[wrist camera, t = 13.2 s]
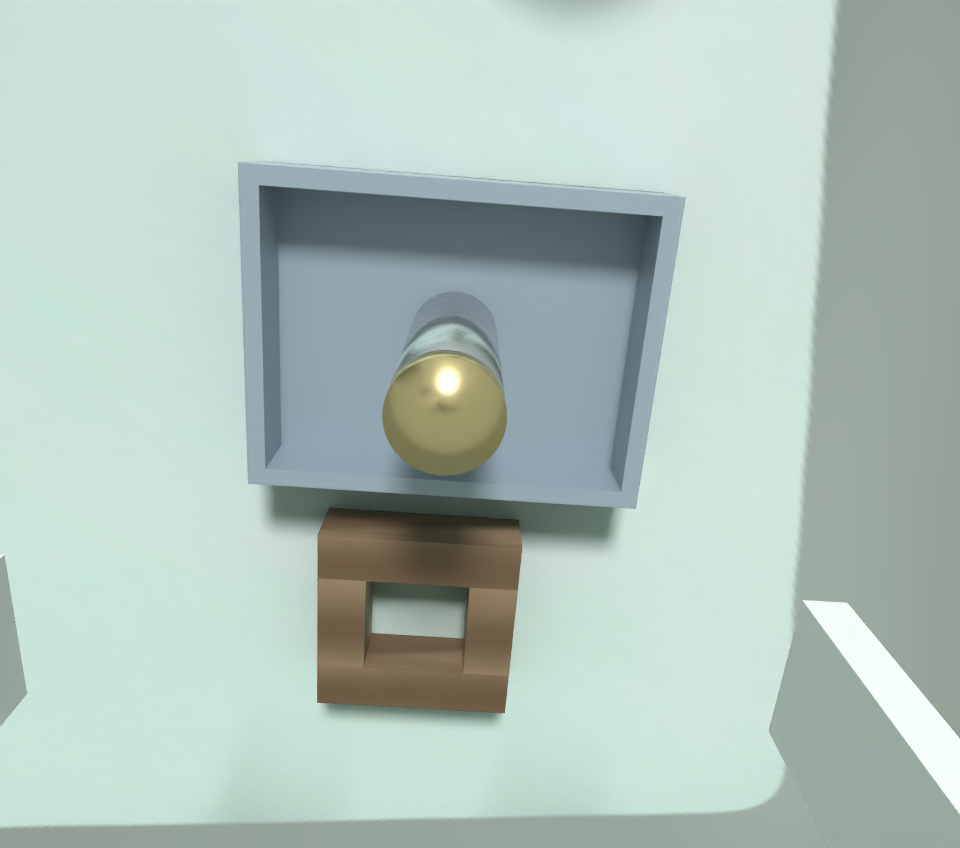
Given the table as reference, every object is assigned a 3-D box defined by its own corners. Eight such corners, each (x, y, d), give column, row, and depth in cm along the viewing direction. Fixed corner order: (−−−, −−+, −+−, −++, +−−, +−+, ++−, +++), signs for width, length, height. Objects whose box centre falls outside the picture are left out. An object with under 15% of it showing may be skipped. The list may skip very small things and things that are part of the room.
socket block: (329, 508, 40) (317, 535, 37) (518, 520, 40) (522, 548, 37) (327, 666, 43) (317, 702, 40) (502, 676, 43) (504, 713, 40)
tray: (264, 161, 34) (238, 162, 30) (662, 192, 34) (685, 197, 31) (270, 451, 38) (248, 483, 35) (620, 474, 39) (635, 508, 35)
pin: (413, 288, 35) (384, 353, 23) (500, 295, 35) (512, 362, 24) (409, 372, 36) (380, 471, 25) (492, 377, 36) (501, 479, 25)
